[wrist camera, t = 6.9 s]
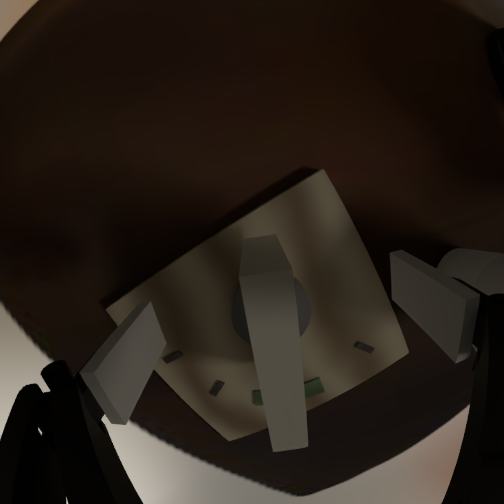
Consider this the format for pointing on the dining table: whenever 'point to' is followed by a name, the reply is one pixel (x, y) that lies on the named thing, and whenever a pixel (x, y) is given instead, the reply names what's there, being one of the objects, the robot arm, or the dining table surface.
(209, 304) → the board
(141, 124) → the dining table surface
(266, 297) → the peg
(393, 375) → the dining table surface
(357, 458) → the dining table surface
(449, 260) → the cup
